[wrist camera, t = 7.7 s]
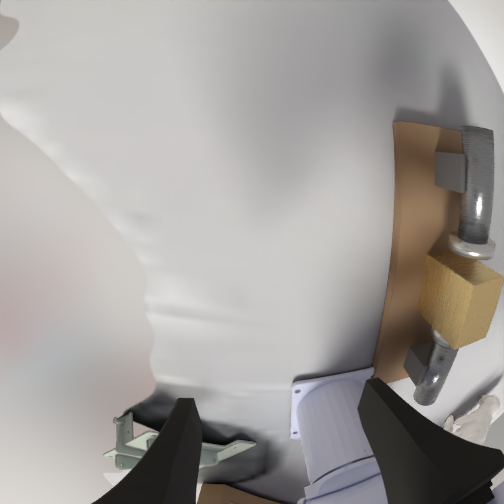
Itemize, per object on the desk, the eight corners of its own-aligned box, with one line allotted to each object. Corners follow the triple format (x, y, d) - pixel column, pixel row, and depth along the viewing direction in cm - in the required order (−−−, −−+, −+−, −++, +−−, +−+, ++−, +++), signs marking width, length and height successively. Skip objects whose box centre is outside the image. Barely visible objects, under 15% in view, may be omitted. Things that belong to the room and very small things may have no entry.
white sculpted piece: (458, 465, 20) (518, 407, 20) (431, 428, 28) (487, 378, 28) (456, 473, 22) (510, 422, 22) (432, 440, 30) (484, 395, 30)
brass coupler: (426, 253, 18) (473, 286, 12) (458, 249, 18) (504, 277, 13) (416, 310, 19) (453, 350, 14) (447, 302, 19) (485, 337, 14)
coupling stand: (440, 358, 23) (467, 393, 18) (368, 380, 23) (390, 424, 17) (476, 136, 16) (528, 141, 10) (392, 121, 15) (447, 116, 10)
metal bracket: (90, 469, 20) (154, 441, 17) (90, 428, 25) (150, 383, 22) (186, 486, 28) (268, 457, 25) (181, 452, 32) (254, 415, 29)
